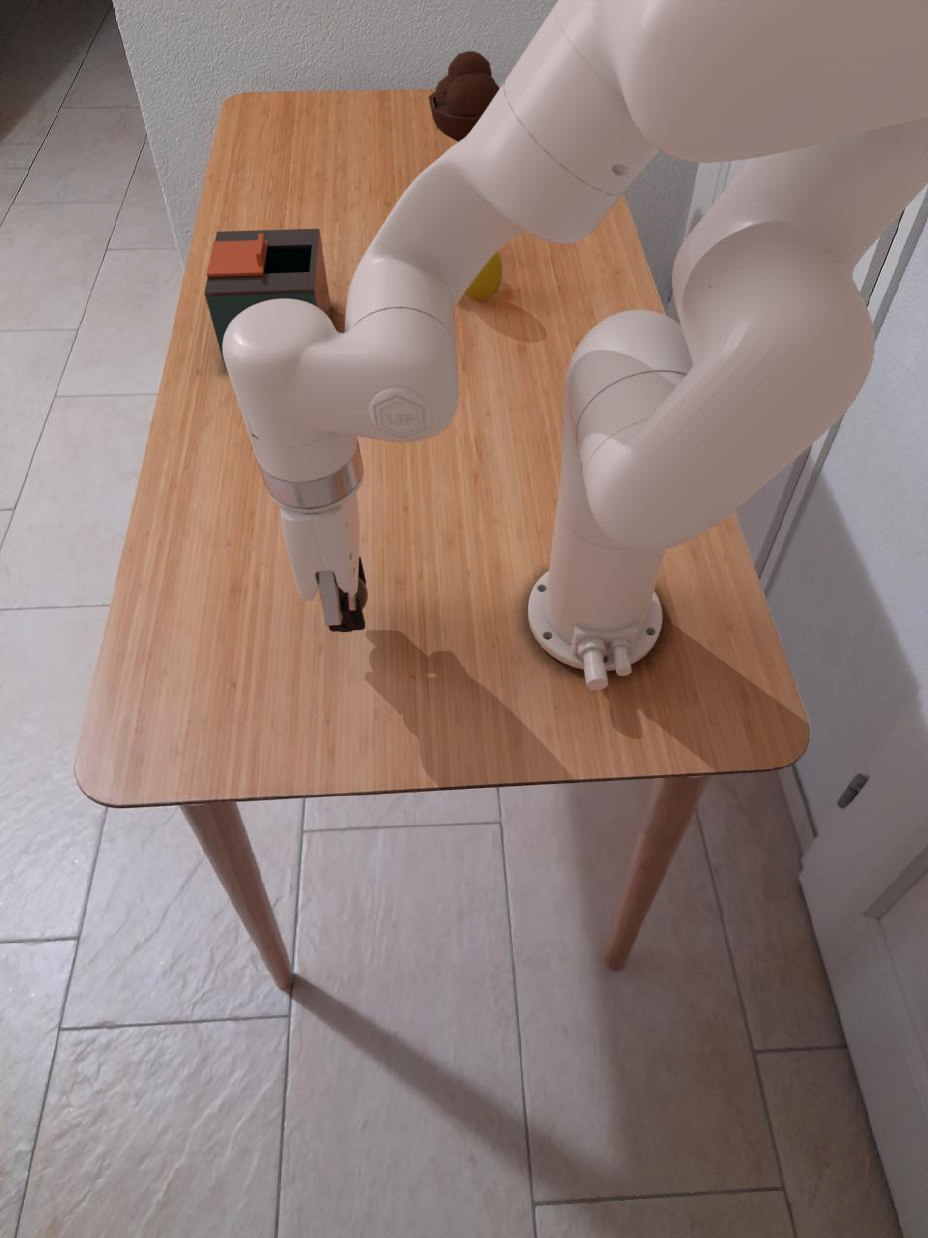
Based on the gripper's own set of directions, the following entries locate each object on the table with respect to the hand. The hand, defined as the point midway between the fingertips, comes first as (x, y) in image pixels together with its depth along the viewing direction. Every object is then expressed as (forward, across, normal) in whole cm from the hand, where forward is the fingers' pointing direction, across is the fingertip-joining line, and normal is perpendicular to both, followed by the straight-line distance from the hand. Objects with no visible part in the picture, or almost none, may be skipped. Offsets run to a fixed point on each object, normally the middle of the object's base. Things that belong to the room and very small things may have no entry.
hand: (348, 606), depth 81 cm
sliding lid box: (+3, -44, -10) cm, 45 cm away
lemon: (+4, -50, +15) cm, 52 cm away
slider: (-8, -44, -13) cm, 46 cm away
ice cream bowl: (+4, -83, +15) cm, 84 cm away
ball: (-2, 0, 0) cm, 2 cm away
